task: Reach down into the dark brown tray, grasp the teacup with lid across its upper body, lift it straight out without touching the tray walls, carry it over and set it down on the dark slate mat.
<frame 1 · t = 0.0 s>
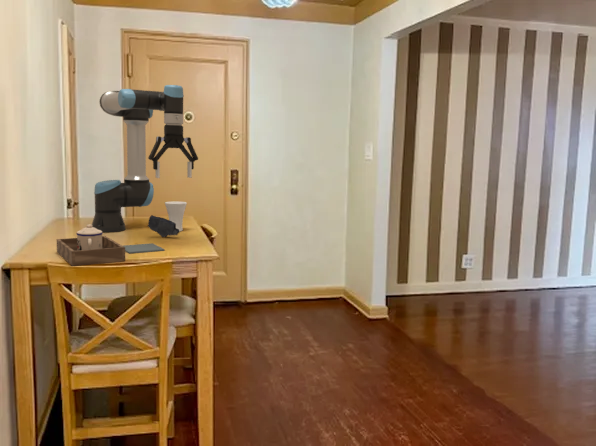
hand: (173, 177, 227), 28 cm above the table, fingers open, 13 cm apart
teacup with lid: (90, 257, 205), resting in dark brown tray
stone: (163, 238, 248), on the table
mat: (141, 249, 221), on the table
cup: (175, 231, 268), on the table
dark brown tray: (90, 256, 205), on the table
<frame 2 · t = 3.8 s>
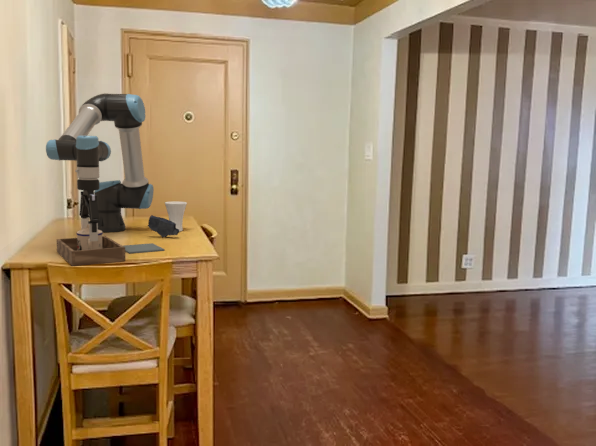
hand: (89, 238, 204), 7 cm above the table, fingers closed on teacup with lid, 11 cm apart
teacup with lid: (90, 257, 205), resting in dark brown tray, touching gripper
everything else where it was.
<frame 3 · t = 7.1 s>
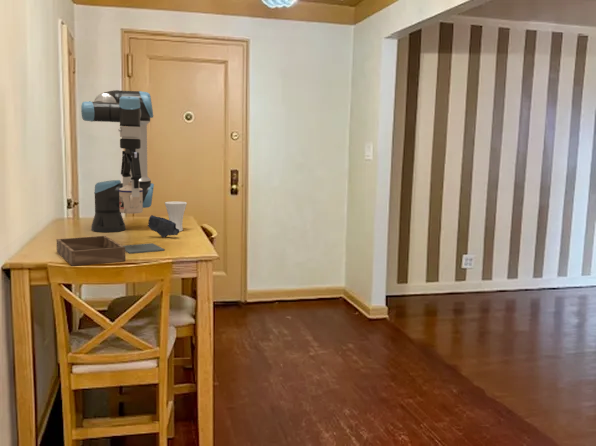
hand: (131, 195, 215), 22 cm above the table, fingers closed on teacup with lid, 11 cm apart
teacup with lid: (131, 213, 216), point 15 cm above the table, touching gripper
everything else where it was.
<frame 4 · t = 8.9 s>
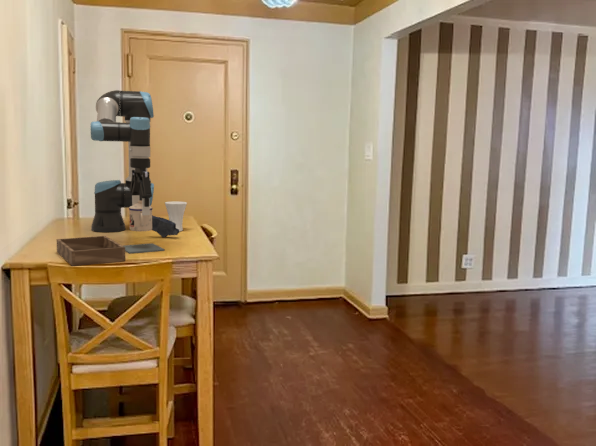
hand: (140, 213, 219), 14 cm above the table, fingers closed on teacup with lid, 11 cm apart
teacup with lid: (141, 230, 220), point 7 cm above the table, touching gripper
everything else where it was.
when the fingers open (9 cm above the table, at t = 10.5 s): teacup with lid drops 2 cm, resting on mat.
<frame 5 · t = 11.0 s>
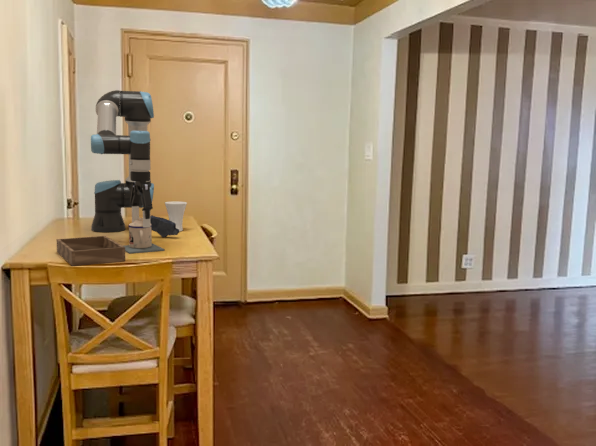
hand: (141, 224, 220), 10 cm above the table, fingers open, 13 cm apart
teacup with lid: (140, 247, 221), resting on mat
everything else where it was.
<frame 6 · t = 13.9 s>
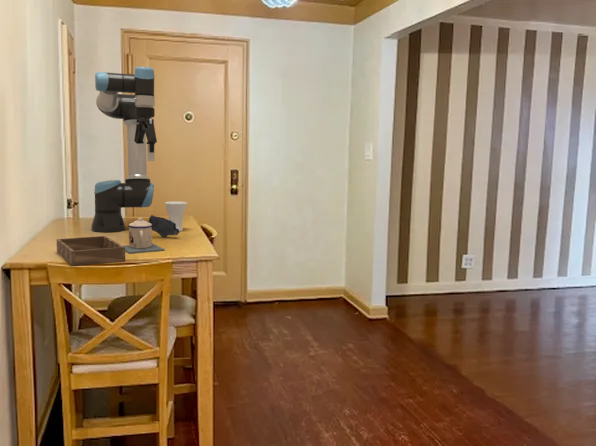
hand: (145, 160, 226), 35 cm above the table, fingers open, 13 cm apart
nothing on the table moved.
at the end: teacup with lid inside the target area on the mat (0.3 cm from its centre), point 0.4 cm above the mat's base; teacup with lid tilted 0°; the gripper is holding nothing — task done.
